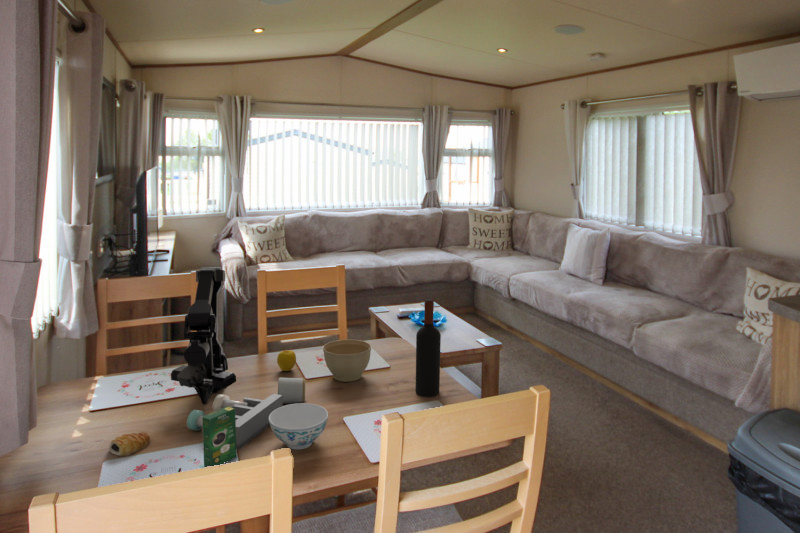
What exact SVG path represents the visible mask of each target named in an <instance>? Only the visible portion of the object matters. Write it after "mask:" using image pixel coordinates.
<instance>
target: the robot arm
mask: <svg viewBox="0 0 800 533" xmlns="http://www.w3.org/2000/svg"><path fill="white" fill-rule="evenodd" d="M225 281H226V270H223V269H222V267H221V266H220V267H219V266H217V267H216V266H215V267H212V266H211V267H208V266H207V267H200V269H198V270H195V283H197V286H196V292H195V298H194V299H195V300H194V303H192V304H191V305H190V306H189V307H188V311H187V314H185V316H184V324H183V325H184V326H183V327H184V328H183V339H185V340H186V339H189V343H188V345H187V347H186V348H185V350H184V353H183V358H184V361H185V362H186V363H187V365H186V364H185V365H184V364H183V365H180V366H178V367H176V368H175V369H172V370H171V373H170V380H171V381H175V382H178V383H179V386H180V387H187V388H190V389H191V388H194V390H195V392H196V394H197V396H198V398H199V400H200V403H201V404H202V405H203V406H205V405H207V404H208V402H209V400H210V397H211V395H212V394H216V393H218V392H220V391H222V390H223V389H227V388H228V387H230V386H231V385H233V384H235V383H237V375H236V374H235V373H234V372H230V371H228V370H229V363H228V362H229V361H228V358H227V356H226V354H225V353H224V348H223V346H222V345H221V343H220V341H219V294H220V293H221V292H222V290H223V288H224V282H225Z"/></svg>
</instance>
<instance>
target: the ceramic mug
mask: <svg viewBox="0 0 800 533" xmlns="http://www.w3.org/2000/svg"><path fill="white" fill-rule="evenodd" d="M277 395H282V404H296V403H304V402H305V400H306V379H303V378H299V377H278V382H277Z"/></svg>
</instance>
